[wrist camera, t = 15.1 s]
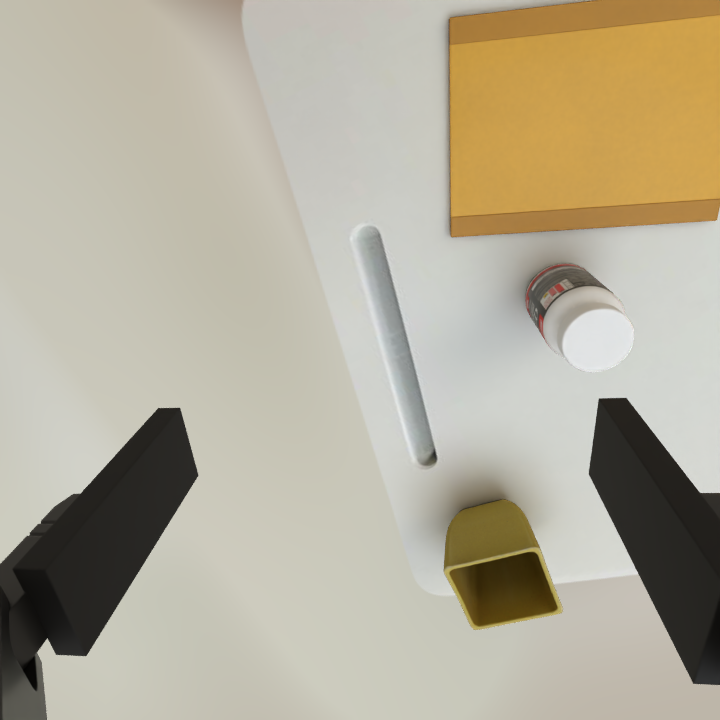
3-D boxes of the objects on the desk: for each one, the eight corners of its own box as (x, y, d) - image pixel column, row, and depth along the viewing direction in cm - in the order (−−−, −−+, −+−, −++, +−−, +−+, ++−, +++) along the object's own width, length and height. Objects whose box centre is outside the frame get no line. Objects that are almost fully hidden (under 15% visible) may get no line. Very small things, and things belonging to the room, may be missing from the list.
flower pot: (542, 541, 54) (565, 614, 46) (464, 559, 56) (472, 632, 48) (519, 479, 51) (539, 546, 42) (437, 500, 53) (441, 569, 45)
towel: (449, 19, 35) (449, 17, 34) (762, -18, 32) (768, -21, 32) (450, 236, 41) (451, 237, 40) (712, 219, 38) (717, 220, 38)
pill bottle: (509, 298, 43) (534, 343, 34) (561, 247, 40) (603, 282, 32) (556, 339, 44) (592, 393, 35) (609, 292, 42) (662, 337, 33)
